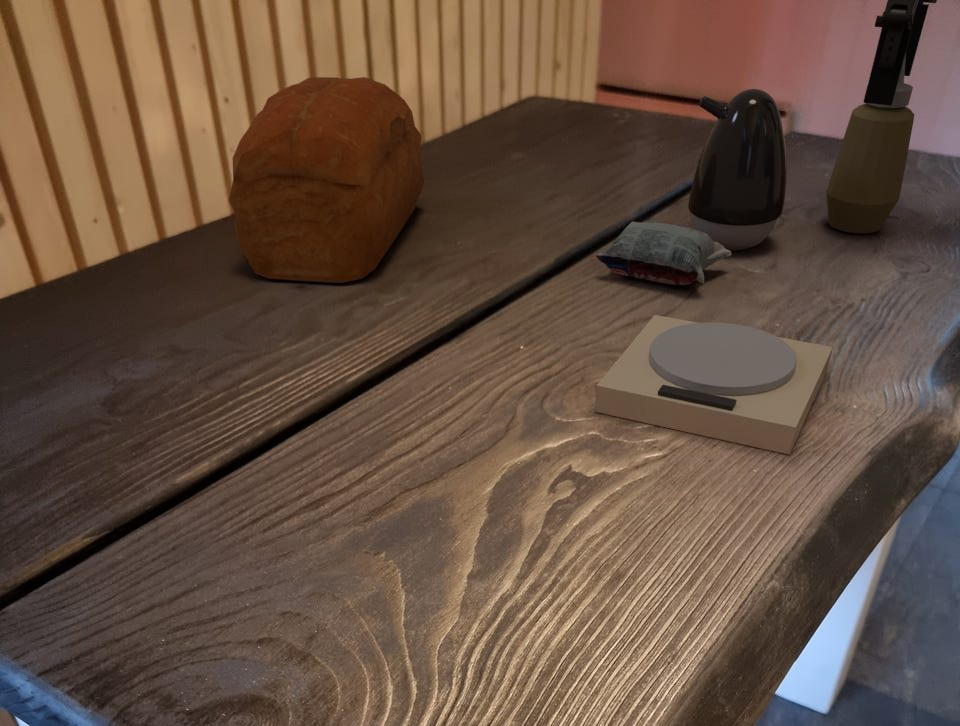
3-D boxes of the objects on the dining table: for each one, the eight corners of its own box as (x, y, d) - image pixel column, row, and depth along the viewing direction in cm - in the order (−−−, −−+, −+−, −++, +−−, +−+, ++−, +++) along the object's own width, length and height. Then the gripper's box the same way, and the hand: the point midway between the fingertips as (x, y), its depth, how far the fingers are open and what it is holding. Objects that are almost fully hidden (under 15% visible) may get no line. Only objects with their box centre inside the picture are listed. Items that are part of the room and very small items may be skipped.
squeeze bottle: (905, 229, 107) (958, 46, 94) (859, 244, 103) (908, 57, 91) (849, 210, 112) (892, 34, 99) (803, 223, 108) (843, 44, 96)
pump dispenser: (683, 224, 109) (703, 76, 98) (774, 229, 107) (804, 79, 97) (679, 256, 101) (700, 99, 91) (776, 262, 100) (809, 103, 89)
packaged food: (626, 251, 102) (631, 204, 99) (729, 271, 98) (737, 223, 94) (592, 279, 97) (595, 231, 94) (699, 301, 92) (706, 251, 89)
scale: (826, 372, 81) (835, 337, 79) (789, 454, 71) (798, 417, 69) (651, 339, 86) (655, 306, 84) (594, 411, 76) (597, 376, 74)
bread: (231, 279, 98) (198, 112, 87) (307, 198, 117) (288, 53, 107) (378, 288, 96) (363, 117, 85) (431, 203, 115) (425, 56, 104)
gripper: (929, -184, 93) (870, 60, 107) (893, -174, 77) (829, 112, 91) (1010, -183, 90) (938, 66, 105) (991, -173, 74) (909, 121, 89)
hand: (887, 88), depth 98 cm, fingers open, 13 cm apart
